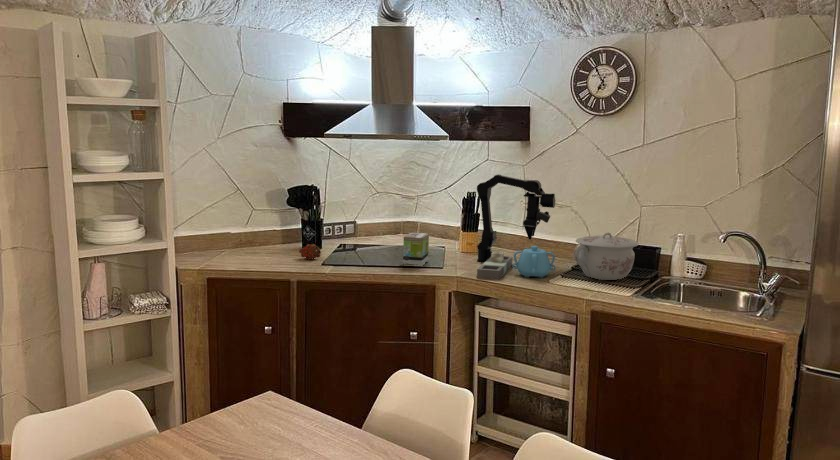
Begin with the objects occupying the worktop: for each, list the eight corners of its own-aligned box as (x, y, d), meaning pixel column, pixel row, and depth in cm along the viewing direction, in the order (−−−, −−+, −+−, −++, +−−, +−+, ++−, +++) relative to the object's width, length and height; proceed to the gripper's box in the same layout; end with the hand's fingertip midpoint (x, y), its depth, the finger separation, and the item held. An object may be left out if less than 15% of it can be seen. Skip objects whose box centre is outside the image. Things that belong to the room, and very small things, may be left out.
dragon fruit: (321, 263, 333) (300, 265, 338) (326, 251, 339) (306, 253, 344) (314, 251, 328) (293, 253, 333) (319, 239, 334) (299, 241, 338)
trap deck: (476, 277, 298) (477, 269, 298) (492, 263, 330) (492, 255, 330) (499, 279, 295) (499, 270, 295) (512, 264, 327) (512, 256, 327)
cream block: (491, 261, 314) (491, 253, 314) (493, 259, 319) (493, 251, 318) (501, 262, 313) (501, 254, 312) (503, 260, 318) (503, 252, 317)
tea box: (422, 268, 318) (423, 237, 316) (402, 266, 320) (402, 236, 318) (428, 261, 333) (429, 232, 331) (409, 260, 335) (409, 231, 333)
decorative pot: (559, 277, 302) (560, 247, 299) (530, 280, 294) (531, 250, 292) (536, 270, 316) (537, 242, 314) (508, 273, 308) (509, 244, 306)
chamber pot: (634, 273, 311) (636, 229, 308) (639, 286, 285) (642, 239, 282) (572, 269, 317) (574, 226, 314) (572, 282, 291) (574, 236, 288)
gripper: (547, 209, 312) (545, 242, 315) (551, 205, 330) (549, 236, 332) (524, 208, 315) (522, 240, 318) (529, 203, 333) (527, 234, 336)
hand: (531, 237), depth 326 cm, fingers open, 9 cm apart
